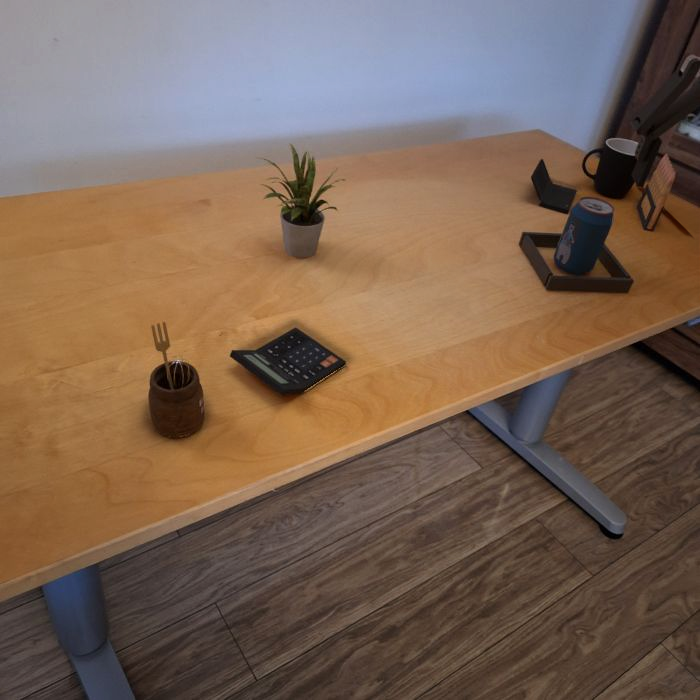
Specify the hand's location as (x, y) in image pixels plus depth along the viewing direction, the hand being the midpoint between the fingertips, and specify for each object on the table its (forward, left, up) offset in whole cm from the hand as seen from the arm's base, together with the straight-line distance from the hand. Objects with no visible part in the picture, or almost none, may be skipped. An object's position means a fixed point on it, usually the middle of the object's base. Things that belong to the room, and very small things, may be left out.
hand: (686, 182), depth 83 cm
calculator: (+53, +13, -23) cm, 59 cm away
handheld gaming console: (-3, -40, -23) cm, 46 cm away
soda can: (+3, -14, -23) cm, 27 cm away
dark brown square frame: (+3, -14, -23) cm, 27 cm away
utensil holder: (+66, +22, -23) cm, 73 cm away
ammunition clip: (-21, -33, -23) cm, 45 cm away
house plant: (+51, -17, -23) cm, 58 cm away
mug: (-17, -45, -23) cm, 53 cm away
